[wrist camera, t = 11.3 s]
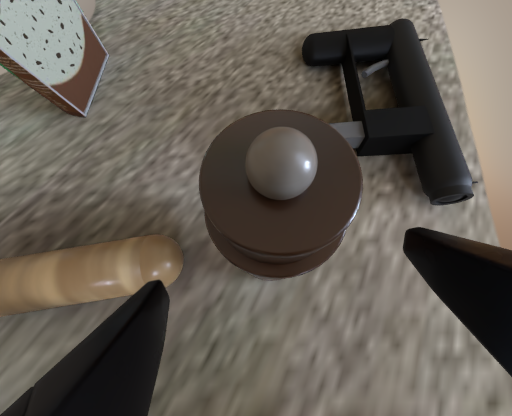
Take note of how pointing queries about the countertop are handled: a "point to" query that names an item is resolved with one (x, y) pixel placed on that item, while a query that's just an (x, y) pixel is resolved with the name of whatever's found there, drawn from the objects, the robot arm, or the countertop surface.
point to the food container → (52, 51)
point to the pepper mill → (279, 192)
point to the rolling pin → (86, 273)
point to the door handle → (409, 101)
